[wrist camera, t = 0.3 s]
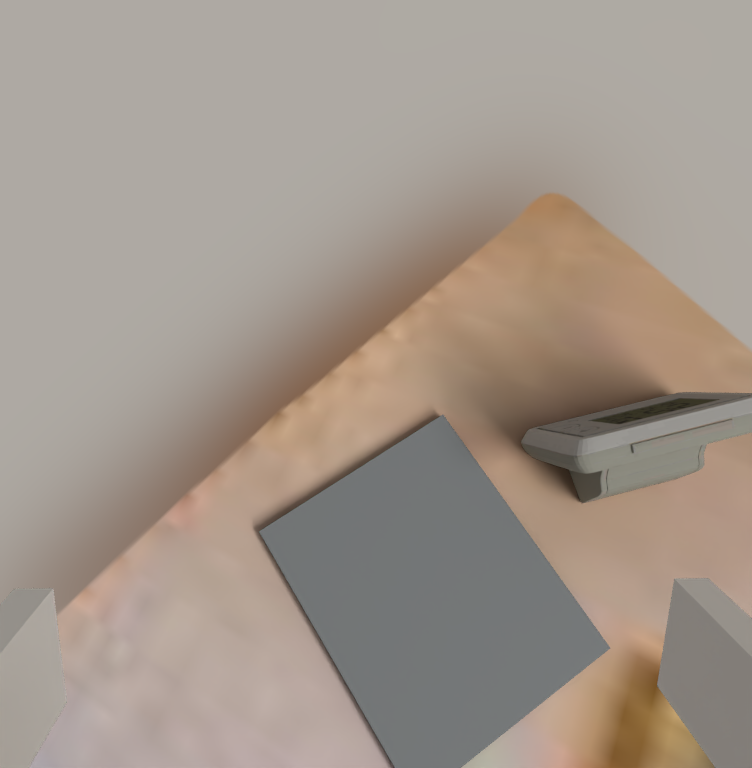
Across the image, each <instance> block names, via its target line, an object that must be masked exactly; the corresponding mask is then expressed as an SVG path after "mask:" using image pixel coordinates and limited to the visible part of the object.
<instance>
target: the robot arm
mask: <svg viewBox="0 0 752 768" xmlns="http://www.w3.org/2000/svg"><path fill="white" fill-rule="evenodd" d="M657 686H658V688H659V689H660V690H661V692H662V693H663V695H664V696H665V697H666V699H667V700H668V702H669V703H670V705H671V706H672V707H673V709H674V710H675V712H676V713H677V714H678V716H679V717H680V719H681V720H682V721H683V723H684V724H685V726H686V727H687V728H688V730H689V731H690V733H691V734H692V735H693V737H694V738H695V740H696V741H697V742H698V744H699V745H700V747H701V748H702V749H703V751H704V752H705V754H706V755H707V756H708V758H709V759H710V761H711V762H712V764H713V765H714V766H715V768H752V618H751V617H750V616H749V615H748V614H746V613H745V612H744V611H743V610H742V609H741V608H740V607H739V606H738V605H737V604H736V603H734V602H733V601H732V600H731V599H730V598H729V597H728V596H727V595H726V594H725V593H724V592H723V591H721V590H720V589H719V588H718V587H717V586H716V585H715V584H714V583H713V582H712V581H711V580H710V579H708V578H686V579H674V584H673V590H672V597H671V603H670V609H669V615H668V621H667V628H666V634H665V640H664V646H663V652H662V659H661V665H660V671H659V677H658V684H657ZM66 703H67V698H66V690H65V681H64V673H63V665H62V657H61V649H60V640H59V632H58V624H57V616H56V608H55V600H54V591H53V588H39V589H38V588H36V589H14V590H13V591H12V592H11V593H10V594H9V595H8V596H7V597H6V598H5V599H4V601H3V602H2V603H1V604H0V768H29V767H30V765H31V763H32V761H33V760H34V758H35V756H36V755H37V753H38V751H39V749H40V748H41V746H42V744H43V743H44V741H45V739H46V737H47V736H48V734H49V732H50V731H51V729H52V727H53V725H54V724H55V722H56V720H57V718H58V717H59V715H60V713H61V712H62V710H63V708H64V706H65V705H66Z"/></svg>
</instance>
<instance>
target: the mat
mask: <svg viewBox="0 0 752 768" xmlns="http://www.w3.org/2000/svg"><path fill="white" fill-rule="evenodd" d="M259 532H260V534H261V536H262V538H263V539H264V541H265V543H266V545H267V546H268V548H269V550H270V552H271V553H272V555H273V557H274V559H275V560H276V562H277V564H278V565H279V567H280V569H281V571H282V572H283V574H284V576H285V578H286V579H287V581H288V583H289V585H290V586H291V588H292V590H293V592H294V593H295V595H296V597H297V599H298V600H299V602H300V604H301V605H302V607H303V609H304V611H305V612H306V614H307V616H308V618H309V619H310V621H311V623H312V625H313V626H314V628H315V630H316V632H317V633H318V635H319V637H320V639H321V640H322V642H323V644H324V645H325V647H326V649H327V651H328V652H329V654H330V656H331V658H332V659H333V661H334V663H335V665H336V666H337V668H338V670H339V672H340V673H341V675H342V677H343V679H344V680H345V682H346V684H347V685H348V687H349V689H350V691H351V692H352V694H353V696H354V698H355V699H356V701H357V703H358V705H359V706H360V708H361V710H362V712H363V713H364V715H365V717H366V719H367V720H368V722H369V724H370V725H371V727H372V729H373V731H374V732H375V734H376V736H377V738H378V739H379V741H380V743H381V745H382V746H383V748H384V750H385V752H386V753H387V755H388V757H389V759H390V760H391V762H392V764H393V765H394V767H395V768H461V767H462V766H463V765H465V764H466V763H467V762H468V761H470V760H471V759H472V758H473V757H475V756H476V755H477V754H478V753H480V752H481V751H482V750H483V749H485V748H486V747H487V746H488V745H490V744H491V743H492V742H493V741H495V740H496V739H497V738H498V737H500V736H501V735H502V734H503V733H505V732H506V731H507V730H508V729H510V728H511V727H512V726H513V725H515V724H516V723H517V722H518V721H520V720H521V719H522V718H523V717H525V716H526V715H527V714H528V713H530V712H531V711H532V710H534V709H535V708H536V707H537V706H539V705H540V704H541V703H542V702H544V701H545V700H546V699H547V698H549V697H550V696H551V695H552V694H554V693H555V692H556V691H557V690H559V689H560V688H561V687H562V686H564V685H565V684H566V683H567V682H569V681H570V680H571V679H572V678H574V677H575V676H576V675H577V674H579V673H580V672H581V671H582V670H584V669H585V668H586V667H587V666H589V665H590V664H591V663H592V662H594V661H595V660H596V659H597V658H599V657H600V656H601V655H602V654H604V653H605V652H606V651H607V650H609V649H610V647H609V646H608V644H607V643H606V641H605V640H604V639H603V637H602V636H601V634H600V633H599V632H598V630H597V629H596V627H595V626H594V625H593V623H592V622H591V620H590V619H589V618H588V616H587V615H586V614H585V612H584V611H583V609H582V608H581V607H580V605H579V604H578V602H577V601H576V600H575V598H574V597H573V595H572V594H571V593H570V591H569V590H568V588H567V587H566V586H565V584H564V583H563V581H562V580H561V579H560V577H559V576H558V574H557V573H556V572H555V570H554V569H553V567H552V566H551V565H550V563H549V562H548V560H547V559H546V558H545V556H544V555H543V553H542V552H541V551H540V549H539V548H538V546H537V545H536V544H535V542H534V541H533V540H532V538H531V537H530V535H529V534H528V533H527V531H526V530H525V528H524V527H523V526H522V524H521V523H520V521H519V520H518V519H517V517H516V516H515V514H514V513H513V512H512V510H511V509H510V507H509V506H508V505H507V503H506V502H505V500H504V499H503V498H502V496H501V495H500V493H499V492H498V491H497V489H496V488H495V486H494V485H493V484H492V482H491V481H490V479H489V478H488V477H487V475H486V474H485V472H484V471H483V470H482V468H481V467H480V466H479V464H478V463H477V461H476V460H475V459H474V457H473V456H472V454H471V453H470V452H469V450H468V449H467V447H466V446H465V445H464V443H463V442H462V440H461V439H460V438H459V436H458V435H457V433H456V432H455V431H454V429H453V428H452V426H451V425H450V424H449V422H448V421H447V419H446V418H445V417H444V415H441V416H440V417H438V418H437V419H435V420H434V421H432V422H430V423H429V424H427V425H426V426H424V427H423V428H421V429H419V430H418V431H416V432H415V433H413V434H412V435H410V436H408V437H407V438H405V439H404V440H402V441H400V442H399V443H397V444H396V445H394V446H393V447H391V448H389V449H388V450H386V451H385V452H383V453H382V454H380V455H378V456H377V457H375V458H374V459H372V460H371V461H369V462H367V463H366V464H364V465H363V466H361V467H360V468H358V469H356V470H355V471H353V472H352V473H350V474H349V475H347V476H345V477H344V478H342V479H341V480H339V481H338V482H336V483H334V484H333V485H331V486H330V487H328V488H327V489H325V490H323V491H322V492H320V493H319V494H317V495H315V496H314V497H312V498H311V499H309V500H308V501H306V502H304V503H303V504H301V505H300V506H298V507H297V508H295V509H293V510H292V511H290V512H289V513H287V514H286V515H284V516H282V517H281V518H279V519H278V520H276V521H275V522H273V523H271V524H270V525H268V526H267V527H265V528H264V529H262V530H260V531H259Z"/></svg>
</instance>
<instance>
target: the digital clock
mask: <svg viewBox="0 0 752 768" xmlns="http://www.w3.org/2000/svg"><path fill="white" fill-rule="evenodd" d="M748 433H752V393H702V392H683V393H676V394H671V395H667V396H663V397H658V398H654V399H650V400H646V401H642V402H638V403H634V404H629V405H625V406H621V407H617V408H613V409H609V410H605V411H601V412H596V413H592V414H588V415H584V416H580V417H576V418H572V419H568V420H564V421H559V422H555V423H551V424H547V425H543V426H539V427H535V428H532V429H529V430H527V432H526V434H525V435H524V437H523V439H522V441H521V443H522V446H523V448H524V450H525V451H526V452H527V453H528V454H529V455H530V456H532V457H533V458H535V459H537V460H540V461H544V462H547V463H550V464H553V465H556V466H559V467H562V468H566V469H569V471H570V474H571V477H572V480H573V482H574V485H575V488H576V490H577V493H578V496H579V499H580V501H581V502H582V503H586V502H590V501H594V500H597V499H601V498H605V497H609V496H613V495H617V494H620V493H624V492H628V491H632V490H636V489H640V488H643V487H647V486H651V485H655V484H659V483H662V482H666V481H670V480H674V479H678V478H680V477H683V476H686V475H688V474H691V473H694V472H696V471H699V470H700V469H702V468H703V466H704V451H705V448H706V445H707V444H709V443H713V442H717V441H721V440H724V439H728V438H732V437H736V436H740V435H744V434H748Z"/></svg>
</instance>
